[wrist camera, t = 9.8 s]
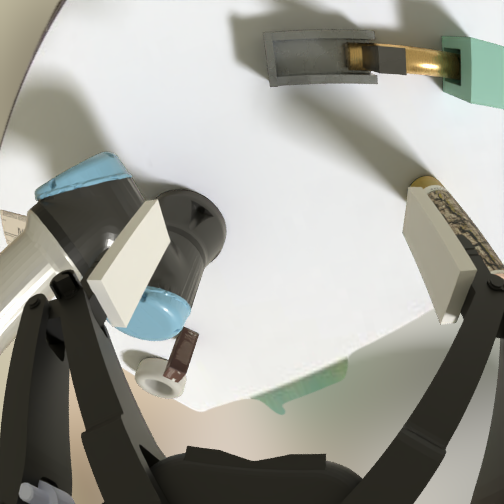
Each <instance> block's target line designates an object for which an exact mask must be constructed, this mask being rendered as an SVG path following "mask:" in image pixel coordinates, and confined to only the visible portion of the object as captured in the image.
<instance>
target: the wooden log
mask: <svg viewBox="0 0 504 504" xmlns="http://www.w3.org/2000/svg"><path fill="white" fill-rule="evenodd" d="M410 187H422V188H423V190H424V191H425V192H426V194H427V195H428V196H429V198H430V199H431V200H432V202H433V203H434V204H435V206H436V207H437V209H438V210H439V211H440V213H441V214H442V216H443V217H444V219H445V220H446V221H447V223H448V224H449V226H450V227H451V229H452V230H453V232H454V233H455V234H462V235H464V236H465V237H466V238H467V239H469V240H470V241H471V243H472V244H473V246H474V247H475V250H477V252H478V253H479V256H480V257H481V258H482V260H483V261H484V263H485V264H486V266H487V268H488V269H489V271H490V273H491V274H495V275H498V276H500V277H501V278H503V279H504V265H503V264H502V262H501V261H500V259H499V258H498V256H497V255H496V253H495V252H494V250H493V249H492V247H491V246H490V244H489V243H488V242H487V240H486V239H485V238H484V236H483V235H482V233H481V232H480V231H479V229H478V228H477V227H476V225H475V224H474V223H473V221H472V220H471V219H470V218H469V216H468V215H467V214H466V212H465V211H464V210H463V209H462V207H461V206H460V205H459V204H458V203H457V201H456V200H455V199H454V198H453V197H452V195H451V194H450V193H449V192H448V191H447V190H446V189H445V187H444V186H443V185H442V184H441V183H440V182H439V181H438V180H437V179H436V178H434V177H431V176H423V177H420V178H418V179H417V180H415V181H414V182H413V183H412V184H411V186H410Z"/></svg>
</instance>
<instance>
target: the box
mask: <svg viewBox="0 0 504 504" xmlns="http://www.w3.org/2000/svg"><path fill="white" fill-rule="evenodd" d="M198 336H199V334H198V333H196V332H194V331H192V330H189V329H187V328H183V329H182V331H181V333H180V334H179V336H178V337H177V339H176V341H175V344H174V347H173V350H172V352H171V355H170V358H169V360H168V363H167V366H166V369H165V371H164V374H163V376H164V377H166V378H168V379H170V380H172V381H175V382H177V383H179V381H180V380H182V379H183V377H184V376H185V375H186V373H187V369H188V367H189V363H190V360H191V357H192V354H193V351H194V348H195V345H196V342H197V339H198Z"/></svg>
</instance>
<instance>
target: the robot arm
mask: <svg viewBox="0 0 504 504" xmlns="http://www.w3.org/2000/svg"><path fill="white" fill-rule="evenodd" d="M35 199H36V201H39V202H38V203H37V204H36V205H34V206H33V207H32V208H31V209H30V210H29V211H28V212H27V219H26V226H25V229H24V231H23V232H22V233H21V234H20V235H18V236H17V237H16V238H15V239H14V240H13V241H12V242H11V243H10V244H9V245H8V246H7V247H6V248H5V249H4V250H3V251H2V252H1V253H0V355H1V354H2V353H3V351H4V350H5V349H6V348H7V347H8V346H9V345H10V343H11V342H12V341H13V340H14V339H15V338H16V339H15V344H14V348H13V352H12V357H11V362H10V367H9V373H8V378H7V384H6V390H5V397H4V404H3V412H2V422H1V433H0V504H75V503H74V500H73V499H72V497H71V496H72V470H71V459H70V441H69V369H70V372H71V377H72V381H73V385H74V388H75V393H76V397H77V400H78V404H79V408H80V411H81V414H82V418H83V421H84V425H85V428H86V431H85V432H83V433H82V434H81V438H82V443H83V446H84V449H85V452H86V455H87V458H88V461H89V463H90V466H91V469H92V471H93V474H94V477H95V479H96V482H97V484H98V487H99V489H100V492H101V494H102V497H103V499H104V501H105V502H104V503H102V504H413V503H414V502H415V501H416V499H417V498H418V496H419V495H420V494H421V492H422V491H423V489H424V488H425V487H426V485H427V484H428V482H429V481H430V479H431V477H432V476H433V475H434V473H435V471H436V470H437V468H438V467H439V465H440V463H441V462H442V460H443V458H444V456H445V454H446V450H445V449H446V447H447V445H448V443H449V441H450V439H451V437H452V436H453V434H454V432H455V430H456V428H457V426H458V424H459V423H460V421H461V419H462V417H463V415H464V413H465V411H466V409H467V406H468V404H469V402H470V400H471V398H472V396H473V394H474V391H475V389H476V387H477V385H478V382H479V380H480V378H481V375H482V373H483V370H484V368H485V365H486V363H487V360H488V357H489V355H490V352H491V349H492V346H493V344H494V341H495V338H496V337H497V338H500V357H499V369H498V379H497V388H496V396H495V403H494V409H493V416H492V421H491V427H490V432H489V437H488V441H487V446H486V450H485V454H484V458H483V462H482V466H481V469H480V473H479V476H478V480H477V483H476V486H475V490H474V493H473V496H472V500H471V504H504V279H503V278H501V277H500V276H498V275H495V274H491V273H490V271H489V269H488V268H487V266H486V264H485V263H484V261H483V260H482V258H481V257H480V256H479V253H478V252H477V250H475V247H474V246H473V244H472V243H471V241H470V240H469V239H467V238H466V237H465V236H464V235H462V234H455V233H454V232H453V230H452V229H451V227H450V226H449V224H448V223H447V221H446V220H445V219H444V217H443V216H442V214H441V213H440V211H439V210H438V209H437V207H436V206H435V204H434V203H433V202H432V200H431V199H430V198H429V196H428V195H427V194H426V192H425V191H424V190H423V188H422V187H408V194H407V202H406V211H405V218H404V225H403V232H402V233H403V235H404V237H405V239H406V241H407V244H408V246H409V248H410V250H411V252H412V255H413V257H414V259H415V261H416V264H417V266H418V268H419V271H420V273H421V275H422V278H423V280H424V283H425V285H426V288H427V290H428V293H429V295H430V298H431V300H432V303H433V306H434V308H435V311H436V314H437V317H438V319H439V322H440V324H450V323H456V322H457V320H458V317H459V315H460V313H461V314H462V316H463V319H464V321H463V323H462V325H461V327H460V329H459V332H458V334H457V336H456V338H455V340H454V342H453V344H452V346H451V348H450V350H449V352H448V353H447V355H446V357H445V359H444V361H443V363H442V365H441V367H440V368H439V370H438V372H437V374H436V375H435V377H434V379H433V381H432V382H431V384H430V386H429V387H428V389H427V391H426V392H425V394H424V396H423V397H422V399H421V400H420V402H419V404H418V405H417V407H416V408H415V410H414V411H413V413H412V414H411V416H410V417H409V419H408V420H407V422H406V423H405V425H404V426H403V428H402V429H401V431H400V432H399V433H398V435H397V436H396V438H395V439H394V440H393V441H392V443H391V444H390V445H389V447H388V448H387V449H386V451H385V452H384V453H383V455H382V456H381V457H380V458H379V460H378V461H377V462H376V463H375V465H374V466H373V467H372V468H371V470H370V471H369V472H368V473H367V474H366V476H365V477H364V478H363V479H362V478H361V477H360V476H359V475H357V474H356V473H355V472H353V471H352V470H350V469H349V468H347V467H344V466H342V465H340V464H337V463H334V462H330V461H326V454H290V455H285V456H280V457H275V458H270V459H265V460H259V461H250V460H247V459H244V458H241V457H238V456H235V455H232V454H229V453H226V452H223V451H221V450H215V449H207V448H199V447H191V446H187V449H186V453H182V454H178V455H174V456H170V457H168V458H166V457H165V455H164V454H163V453H162V451H161V450H160V449H159V447H158V446H157V444H156V442H155V440H154V438H153V436H152V434H151V432H150V430H149V428H148V426H147V424H146V422H145V420H144V418H143V416H142V414H141V412H140V409H139V407H138V405H137V403H136V401H135V399H134V396H133V394H132V392H131V389H130V387H129V385H128V382H127V380H126V378H125V375H124V373H123V370H122V368H121V365H120V363H119V360H118V358H117V355H116V353H115V350H114V347H113V345H112V342H111V339H110V336H109V334H108V331H107V328H106V327H105V325H104V322H105V320H107V321H108V322H109V323H110V324H111V325H112V327H115V328H116V329H118V330H119V331H121V332H123V333H125V334H127V335H129V336H132V337H136V338H139V339H143V340H149V341H162V340H167V339H170V338H172V337H174V336H176V335H177V334H178V333H179V332H180V331H181V330H182V328H183V326H184V324H185V321H186V319H187V317H188V316H189V314H190V312H191V308H192V305H193V302H194V298H195V295H196V292H197V289H198V286H199V283H200V280H201V277H202V274H203V271H204V269H205V267H206V266H207V265H208V264H209V263H210V262H212V261H213V260H214V259H215V258H216V257H217V256H218V255H219V253H220V252H221V250H222V248H223V245H224V242H225V238H226V224H225V221H224V218H223V216H222V214H221V212H220V211H219V209H218V208H217V207H216V206H215V205H214V204H213V203H212V202H211V201H210V200H208V199H207V198H206V197H204V196H202V195H200V194H198V193H195V192H192V191H188V190H172V191H168V192H165V193H163V194H161V195H160V196H158V197H157V198H156V199H155V200H148V201H145V199H144V197H143V196H142V194H141V192H140V191H139V189H138V187H137V186H136V184H135V182H134V180H133V179H132V175H131V174H130V173H128V171H127V170H126V169H125V167H124V166H123V164H122V162H121V161H120V159H119V158H118V157H117V155H115V154H114V153H112V152H101V153H99V154H97V155H95V156H93V157H90V158H88V159H86V160H85V161H83V162H81V163H79V164H77V165H75V166H73V167H72V168H70V169H68V170H66V171H65V172H63V173H61V174H59V175H58V176H56V177H55V178H53V179H51V180H50V181H48V182H47V183H45V184H43V185H42V186H40V187H39V188H37V189H36V190H35ZM54 296H56V298H57V299H55V300H51V299H52V298H53V297H54ZM50 300H51V301H50Z"/></svg>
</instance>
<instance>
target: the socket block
mask: <svg viewBox="0 0 504 504" xmlns="http://www.w3.org/2000/svg"><path fill="white" fill-rule="evenodd" d="M442 51H445V52H451V53H456V54H461V80H456V79H450V78H443V92H445V93H448V94H450V95H453V96H455V97H457V98H460V99H462V100H464V101H467V102H469V103H472V104H478V105H484V106H489V107H495V108H500V109H504V46H500V45H497V44H494V43H490V42H486V41H483V40H479V39H475V38H471V37H453V36H442Z"/></svg>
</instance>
